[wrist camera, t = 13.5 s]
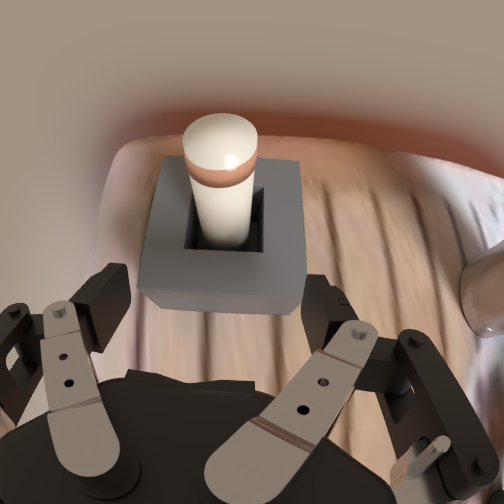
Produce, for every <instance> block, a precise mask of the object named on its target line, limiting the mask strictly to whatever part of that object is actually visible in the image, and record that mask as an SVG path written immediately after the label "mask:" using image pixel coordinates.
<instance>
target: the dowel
mask: <svg viewBox="0 0 504 504" xmlns="http://www.w3.org/2000/svg"><path fill="white" fill-rule="evenodd" d="M182 142H183V153H184V158H185V163H186V167H187V171H188V173H189V176H190V181H191V185H192V190H193V194H194V199H195V203H196V207H197V212H198V216H199V220H200V225H201V229H202V233H203V237H204V241H205V245H206V249H207V250H215V251H237V252H247V250H248V239H249V227H250V216H251V204H252V193H253V182H254V170H255V167H256V160H257V150H258V140H257V132H256V129H255V128H254V126H253V125H252V124H251V123H250V122H249V121H248V120H246V119H244V118H242V117H240V116H237V115H233V114H226V113H219V114H211V115H207V116H204V117H202V118H199V119H198V120H196V121H194V122H193V123H192V124H191V125H190V126H189V127H188V128H187V129H186V131H185V133H184V135H183V141H182Z"/></svg>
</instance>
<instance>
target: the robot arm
mask: <svg viewBox="0 0 504 504" xmlns="http://www.w3.org/2000/svg"><path fill="white" fill-rule="evenodd" d="M460 297H461V303H462V308H463V311H464V315H465V317H466V319H467V322H468V324H469V325H470V327H471V328H472V330H473V331H474V332H475V333H476V334H477V335H479V336H481V337H484V338H490V337H494V336H497V335H501V334H504V240H503V241H501V242H500V243H498V244H497V245H495V246H493V247H492V248H490V249H489V250H487V251H486V252H484V253H483V254H481V255H479V256H478V257H476V258H475V259H473V260H472V261H470V262H469V263H468V264H467V265H466V266H465V268H464V270H463V273H462V277H461V282H460ZM130 304H131V291H130V285H129V277H128V270H127V266H126V264H121V263H109V264H108V265H107V266H106V267H105V268H104V269H103V270H102V271H101V272H99V273H97V274H95V275H93V276H91V277H90V278H89V279H88V280H87V281H86V282H85V284H83V285H82V287H81V289H79V290H78V291H77V292H76V293H75V294H74V295H73V296H72V297H71V298H70V300H69V301H58V302H55V303H52V304H51V305H49V306H48V307H46V309H45V310H44V313H43V314H34V315H33V314H32V315H31V314H30V311H29V308H28V306H27V305H26V304H24V303H16V304H13V305H10V306H8V307H7V308H6V309H5V310H3V312H2V313H1V314H0V504H461V503H463V502H464V501H466V500H467V499H469V498H470V497H472V496H473V495H475V494H476V493H478V492H479V491H480V490H482V489H483V488H485V487H486V486H487V485H489V484H490V483H491V482H492V481H493V480H494V479H495V478H496V476H497V474H498V471H499V459H498V457H497V454H496V452H495V450H494V448H493V446H492V444H491V442H490V440H489V438H488V436H487V434H486V432H485V430H484V428H483V426H482V424H481V422H480V420H479V418H478V416H477V414H476V413H475V411H474V409H473V407H472V405H471V404H470V402H469V400H468V398H467V397H466V395H465V393H464V391H463V390H462V388H461V386H460V385H459V383H458V381H457V380H456V378H455V377H454V375H453V373H452V372H451V370H450V369H449V367H448V365H447V364H446V362H445V361H444V359H443V358H442V356H441V355H440V353H439V351H438V350H437V348H436V347H435V345H434V344H433V342H432V341H431V340H430V338H429V337H428V336H427V335H425V334H424V333H422V332H420V331H418V330H413V329H406V330H403V331H402V332H400V334H399V336H398V339H397V340H395V339H389V338H383V337H379V336H378V332H377V330H376V329H375V328H374V327H373V326H372V325H370V324H369V323H366V322H364V321H360V320H359V318H358V317H357V315H356V313H355V311H354V310H353V308H352V306H351V305H350V303H349V301H348V300H347V297H346V296H345V294H344V292H343V291H341V290H340V289H339V288H337V287H336V286H330V284H329V282H328V280H327V278H326V276H325V275H318V274H308V275H307V276H306V280H305V286H304V292H303V298H302V304H301V319H302V322H303V326H304V329H305V333H306V336H307V340H308V343H309V347H310V350H311V354H312V356H311V357H310V358H309V360H308V361H307V362H306V363H305V364H304V366H303V367H302V368H301V369H300V370H299V372H298V373H297V374H296V375H295V376H294V377H293V379H292V380H291V381H290V382H289V383H288V384H287V386H286V387H285V388H284V389H283V390H282V391H281V392H280V393H279V395H278V396H277V397H274V396H272V395H269V394H266V393H263V392H260V391H256V390H255V381H235V380H217V381H208V382H199V383H184V382H181V381H178V380H175V379H172V378H169V377H166V376H163V375H160V374H157V373H150V372H144V371H137V370H131V369H128V371H127V373H126V376H125V378H115V379H110V380H106V381H103V382H101V383H100V382H99V379H98V376H97V374H96V371H95V368H94V365H93V362H92V359H91V356H90V354H91V352H92V351H93V352H98V353H103V352H104V350H105V348H106V346H107V345H108V343H109V341H110V339H111V338H112V336H113V334H114V332H115V331H116V329H117V327H118V326H119V324H120V322H121V320H122V319H123V317H124V315H125V314H126V312H127V310H128V309H129V307H130ZM13 346H14V347H15V349H16V351H17V353H18V355H19V358H18V359H17V360H16V362H15V364H14V365H13V366H12V368H11V369H10V371H9V370H8V369H7V366H6V357H7V354H8V353H9V352H10V350H11V349H12V348H13ZM43 375H44V382H45V389H46V394H47V400H48V406H49V411H47V412H46V413H44V414H42V415H40V416H38V417H36V418H34V419H32V420H31V421H29V422H27V423H25V424H23V425H21V426H19V427H17V428H16V426H17V424H18V422H19V420H20V418H21V416H22V414H23V412H24V410H25V408H26V406H27V404H28V402H29V400H30V398H31V396H32V394H33V393H34V391H35V389H36V387H37V385H38V383H39V382H40V380H41V378H42V376H43ZM411 385H412V387H413V389H414V392H413V390H412V388H411ZM355 390H362V391H369V392H375V394H376V396H377V399H378V402H379V405H380V408H381V411H382V414H383V417H384V420H385V423H386V426H387V429H388V432H389V435H390V438H391V441H392V445H393V448H394V451H395V455H396V458H397V462H396V463H395V464H394V465H393V466H392V469H391V472H390V480H391V482H390V486H389V485H388V484H387V483H386V482H385V481H384V480H383V479H382V478H381V477H379V476H378V475H377V474H375V473H374V472H372V471H371V470H369V469H368V468H367V467H365V466H364V465H362V464H361V463H360V462H358V461H357V460H356V459H354V458H353V457H352V456H350V455H349V454H348V453H346V452H345V451H344V450H342V449H341V448H340V447H338V446H337V445H336V444H335V443H333V442H332V441H331V440H329V439H328V438H329V437H330V435H331V433H332V431H333V430H334V428H335V426H336V424H337V423H338V421H339V419H340V418H341V416H342V414H343V412H344V411H345V409H346V407H347V405H348V403H349V402H350V400H351V398H352V396H353V394H354V392H355ZM414 393H415V395H414Z"/></svg>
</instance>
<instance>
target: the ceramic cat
mask: <svg viewBox="0 0 504 504" xmlns="http://www.w3.org/2000/svg"><path fill="white" fill-rule="evenodd" d="M489 504H504V490H500V491H498V492H493V494H492V497H491V499H490V502H489Z"/></svg>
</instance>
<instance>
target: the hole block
mask: <svg viewBox="0 0 504 504" xmlns="http://www.w3.org/2000/svg"><path fill="white" fill-rule="evenodd" d="M306 276H307V263H306V243H305V227H304V212H303V199H302V187H301V176H300V165H299V161H290V160H278V159H264V158H257V160H256V167H255V170H254V182H253V193H252V204H251V216H250V227H249V239H248V250H247V252H237V251H215V250H207V249H206V245H205V241H204V237H203V233H202V229H201V225H200V220H199V216H198V212H197V207H196V203H195V199H194V194H193V190H192V185H191V181H190V176H189V173H188V171H187V167H186V163H185V158H184V156H164V159H163V162H162V166H161V170H160V174H159V178H158V182H157V186H156V190H155V194H154V198H153V203H152V207H151V212H150V216H149V221H148V226H147V231H146V236H145V241H144V247H143V252H142V258H141V264H140V270H139V276H138V283H137V288H138V289H139V290H140V291H141V292H142V293H143V294H145V295H146V296H147V297H148V298H149V299H150V300H152V301H153V302H154V303H155V304H156V305H158V306H159V307H160V308H162V309H174V310H187V311H202V312H219V313H240V314H272V315H289V314H290V313H291V312H292V311H293V310H294V309H296V308H297V307H298V306H299V305H300V304H301V303H302V298H303V292H304V286H305V280H306Z"/></svg>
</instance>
